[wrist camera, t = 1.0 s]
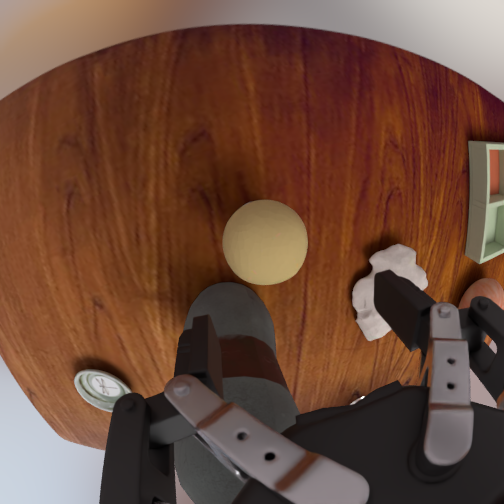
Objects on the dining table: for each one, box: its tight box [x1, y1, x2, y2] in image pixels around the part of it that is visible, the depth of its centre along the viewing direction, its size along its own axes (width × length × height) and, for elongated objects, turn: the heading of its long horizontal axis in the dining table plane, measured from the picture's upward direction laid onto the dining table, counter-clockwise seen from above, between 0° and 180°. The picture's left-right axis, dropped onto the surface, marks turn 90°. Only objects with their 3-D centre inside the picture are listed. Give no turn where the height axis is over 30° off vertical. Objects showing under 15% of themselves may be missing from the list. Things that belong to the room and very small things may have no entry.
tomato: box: [458, 278, 504, 309], centre depth 33 cm, size 11×11×8 cm
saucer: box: [74, 369, 132, 412], centre depth 32 cm, size 10×10×2 cm
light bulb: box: [223, 200, 308, 285], centre depth 23 cm, size 6×6×10 cm
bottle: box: [174, 282, 300, 504], centre depth 17 cm, size 9×9×30 cm
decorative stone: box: [352, 244, 428, 341], centre depth 31 cm, size 11×4×15 cm
